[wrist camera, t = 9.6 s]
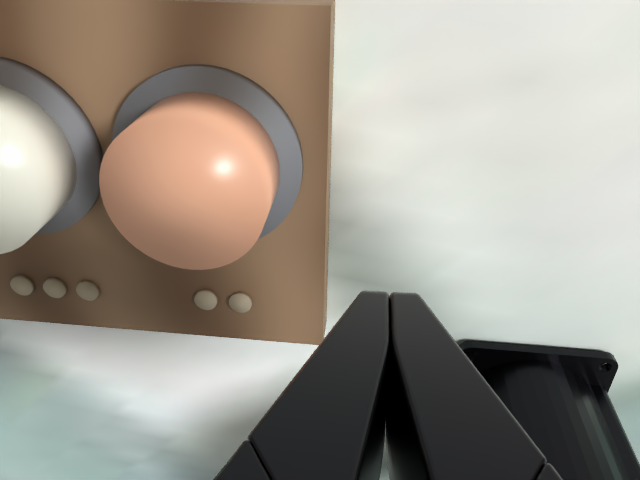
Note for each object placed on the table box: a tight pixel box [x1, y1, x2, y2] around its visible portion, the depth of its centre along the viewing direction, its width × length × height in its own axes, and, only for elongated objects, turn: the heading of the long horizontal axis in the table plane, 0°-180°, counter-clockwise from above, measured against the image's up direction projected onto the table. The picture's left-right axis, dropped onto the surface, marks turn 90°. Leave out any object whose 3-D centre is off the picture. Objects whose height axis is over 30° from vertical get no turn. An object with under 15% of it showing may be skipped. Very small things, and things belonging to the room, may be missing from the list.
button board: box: [0, 0, 335, 345], centre depth 20 cm, size 22×13×2 cm, turn 89°
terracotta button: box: [99, 92, 280, 270], centre depth 17 cm, size 5×5×2 cm
